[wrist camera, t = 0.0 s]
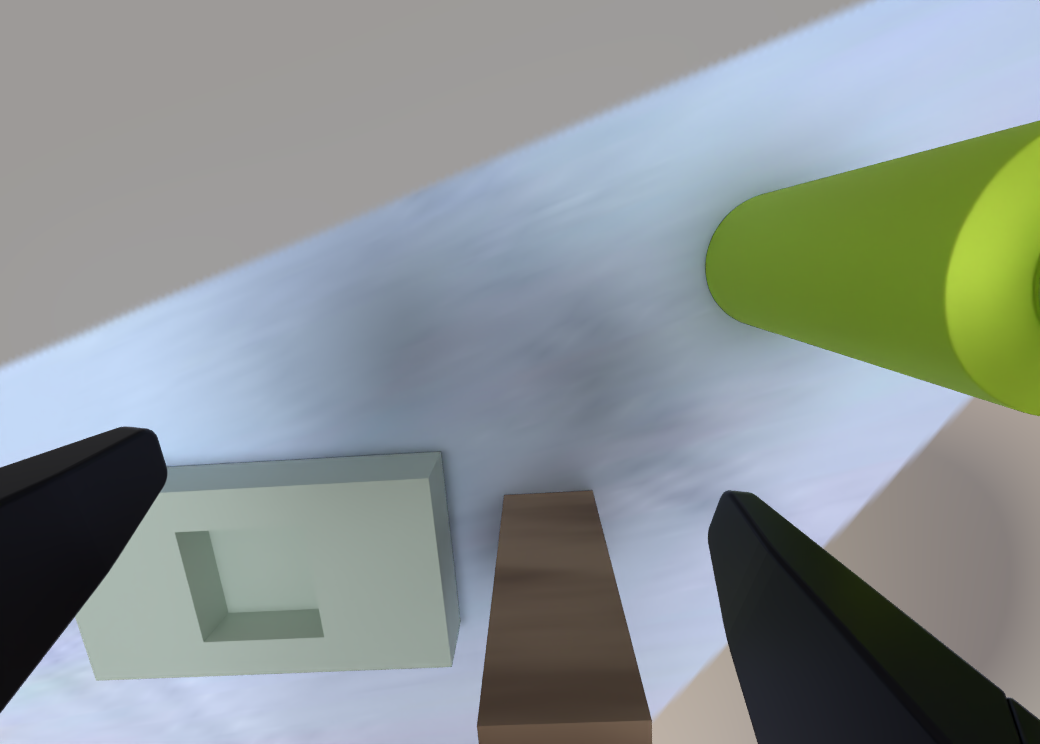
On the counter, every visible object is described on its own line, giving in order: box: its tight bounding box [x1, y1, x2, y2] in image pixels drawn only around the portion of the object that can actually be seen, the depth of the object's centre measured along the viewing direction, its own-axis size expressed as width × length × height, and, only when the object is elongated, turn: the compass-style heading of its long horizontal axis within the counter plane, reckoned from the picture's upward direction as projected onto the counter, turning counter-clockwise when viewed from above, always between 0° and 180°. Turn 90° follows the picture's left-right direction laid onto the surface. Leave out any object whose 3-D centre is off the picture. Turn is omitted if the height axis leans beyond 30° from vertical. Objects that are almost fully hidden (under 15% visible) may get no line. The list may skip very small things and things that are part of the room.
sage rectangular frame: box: [75, 452, 461, 681], centre depth 24 cm, size 18×10×3 cm, turn 94°
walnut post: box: [477, 490, 652, 744], centre depth 19 cm, size 4×4×12 cm
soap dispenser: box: [706, 121, 1040, 416], centre depth 12 cm, size 6×7×20 cm
